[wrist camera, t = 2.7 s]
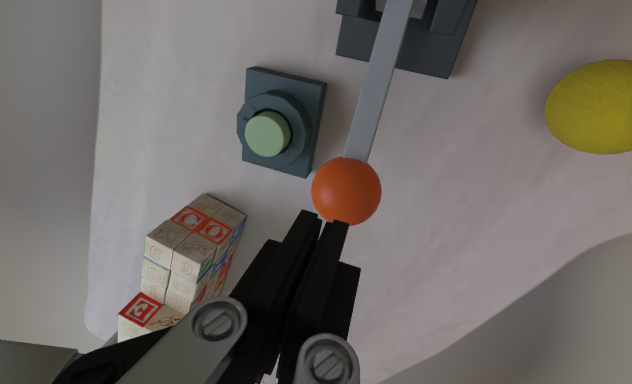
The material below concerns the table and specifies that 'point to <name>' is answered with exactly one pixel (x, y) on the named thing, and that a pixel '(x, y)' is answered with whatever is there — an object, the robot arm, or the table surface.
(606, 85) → the lemon
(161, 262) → the stack of blocks
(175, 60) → the table surface
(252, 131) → the green round button
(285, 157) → the dark piece
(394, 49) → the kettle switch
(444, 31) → the switch bracket
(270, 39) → the table surface
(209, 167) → the table surface
